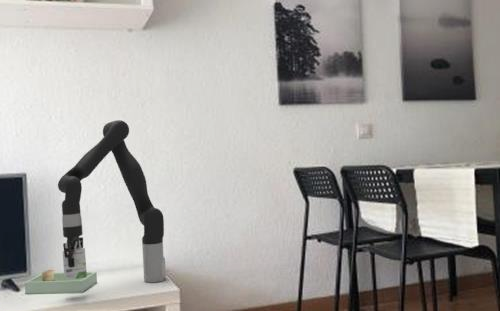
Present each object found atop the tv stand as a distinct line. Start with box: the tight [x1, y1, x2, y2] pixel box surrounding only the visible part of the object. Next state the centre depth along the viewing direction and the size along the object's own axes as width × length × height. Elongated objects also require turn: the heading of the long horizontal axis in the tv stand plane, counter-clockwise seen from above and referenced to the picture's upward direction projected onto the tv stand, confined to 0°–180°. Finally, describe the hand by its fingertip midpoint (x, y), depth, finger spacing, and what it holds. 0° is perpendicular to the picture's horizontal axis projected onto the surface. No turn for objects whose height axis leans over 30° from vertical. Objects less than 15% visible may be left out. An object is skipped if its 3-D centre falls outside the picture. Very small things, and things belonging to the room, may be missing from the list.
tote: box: [24, 271, 98, 295], centre depth 225 cm, size 26×16×5 cm, turn 85°
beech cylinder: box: [41, 269, 55, 281], centre depth 226 cm, size 5×5×7 cm
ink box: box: [62, 247, 88, 280], centre depth 209 cm, size 8×5×12 cm, turn 105°
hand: (75, 265), depth 209 cm, fingers closed on ink box, 6 cm apart
